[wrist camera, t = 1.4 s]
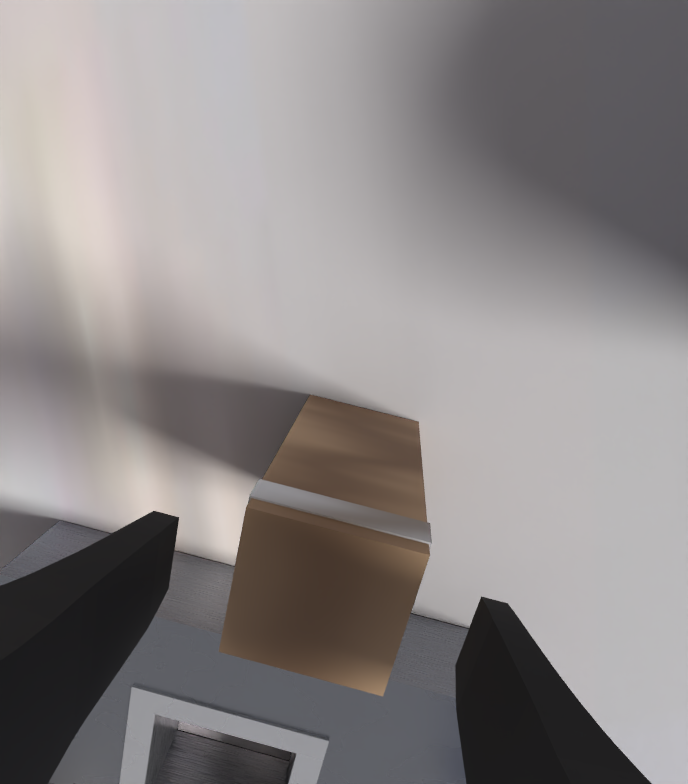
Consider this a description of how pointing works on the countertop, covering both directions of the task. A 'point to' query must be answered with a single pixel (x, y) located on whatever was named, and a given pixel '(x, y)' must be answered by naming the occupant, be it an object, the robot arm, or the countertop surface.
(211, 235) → the countertop surface
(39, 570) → the robot arm
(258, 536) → the key peg
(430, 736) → the grey peg hole board
